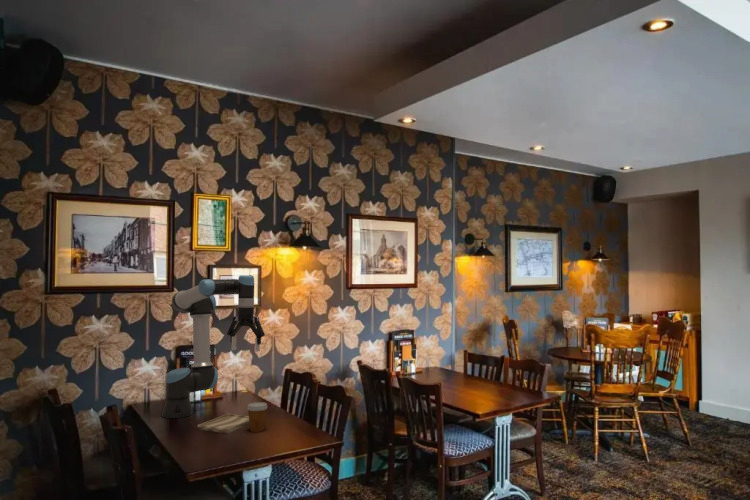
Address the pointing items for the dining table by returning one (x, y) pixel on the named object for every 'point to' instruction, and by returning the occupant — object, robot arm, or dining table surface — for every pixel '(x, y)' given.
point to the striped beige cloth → (225, 423)
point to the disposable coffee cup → (257, 416)
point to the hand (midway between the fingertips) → (245, 350)
